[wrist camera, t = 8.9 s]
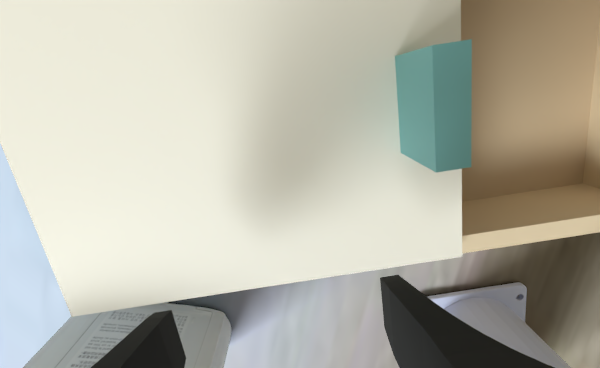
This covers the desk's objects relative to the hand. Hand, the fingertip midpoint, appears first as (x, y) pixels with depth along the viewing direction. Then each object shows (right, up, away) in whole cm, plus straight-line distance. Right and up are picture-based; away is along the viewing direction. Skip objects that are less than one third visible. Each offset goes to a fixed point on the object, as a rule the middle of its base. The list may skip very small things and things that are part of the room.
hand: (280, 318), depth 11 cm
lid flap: (-2, +7, +3) cm, 8 cm away
